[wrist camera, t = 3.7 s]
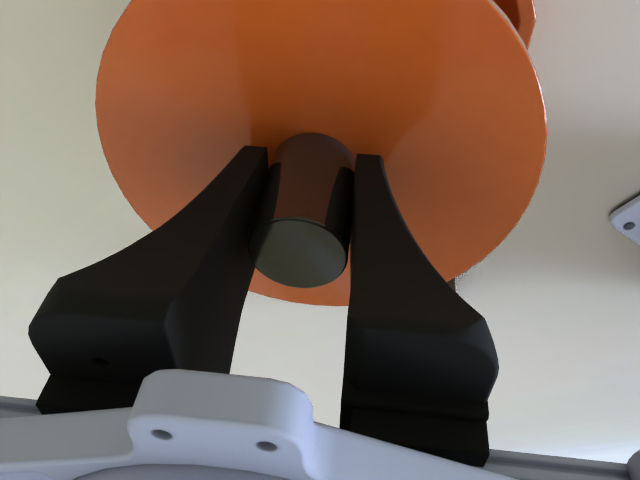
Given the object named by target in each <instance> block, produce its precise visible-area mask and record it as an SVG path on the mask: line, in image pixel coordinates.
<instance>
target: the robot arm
mask: <svg viewBox="0 0 640 480" xmlns="http://www.w3.org/2000/svg"><path fill="white" fill-rule="evenodd" d="M268 170H269V166H268V152H267V147H261V146H247V145H245V146H244V147H242V148H241V149H240V150H239V152H238V153H237V154H236V155H235V156H234V157H233V158H232V160H231V161H230V162H229V163H228V164H227V165H226V166H225V167H224V169H223V170H222V171H221V172H220V173H219V174H218V175H217V176H216V177H215V178H214V179H213V180H212V181H211V182H210V183H209V184H208V185H207V186H206V187H205V188H204V189H203V190H202V191H201V192H200V193H199V194H198V195H197V196H196V197H195V198H194V199H193V200H192V201H191V202H189V203H188V204H187V205H186V206H185V207H184V208H183V209H182V210H180V211H179V212H178V213H177V214H176V215H174V216H173V217H172V218H171V219H169V220H168V221H167V222H165V223H164V224H163V225H161V226H160V227H158V228H157V229H156V230H154V231H152V232H151V233H149V234H148V235H146V236H144V237H143V238H141V239H140V240H138V241H136V242H135V243H133V244H132V245H130V246H128V247H126V248H125V249H123V250H121V251H119V252H117V253H115V254H113V255H111V256H109V257H107V258H105V259H103V260H101V261H99V262H97V263H95V264H92V265H90V266H88V267H85V268H83V269H80V270H78V271H76V272H73V273H71V274H68V275H66V276H63V277H60V278H58V280H57V281H56V283H55V284H54V285H53V287H52V288H51V290H50V291H49V292H48V294H47V296H46V298H45V299H44V301H43V303H42V304H41V306H40V308H39V309H38V311H37V313H36V315H35V316H34V318H33V320H32V322H31V323H30V325H29V332H28V335H29V337H30V340H31V342H32V344H33V346H34V348H35V350H36V351H37V353H38V355H39V356H40V358H41V359H42V361H43V363H44V364H45V366H46V368H47V369H48V371H49V373H50V374H51V375H50V377H49V379H48V381H47V383H46V384H45V386H44V388H43V390H42V392H41V394H40V396H39V398H38V400H33V399H24V398H15V397H6V396H0V480H640V450H639V451H637V452H636V453H634V454H633V455H632V457H631V458H630V459H629V461H628V462H627V464H622V463H613V462H604V461H595V460H585V459H576V458H567V457H558V456H549V455H539V454H530V453H521V452H512V451H503V450H493V449H489V442H488V433H487V423H486V421H487V420H488V418H489V410H488V401H487V400H488V398H489V395H490V393H491V391H492V388H493V386H494V383H495V381H496V379H497V376H498V370H499V365H498V358H497V353H496V349H495V346H494V342H493V339H492V336H491V333H490V331H489V328H488V326H487V323H486V321H485V318H484V317H483V316H481V315H480V314H479V313H478V312H477V311H476V310H475V309H473V308H472V307H471V306H470V305H469V304H468V303H467V302H465V301H464V300H463V299H462V298H461V297H460V296H459V295H458V294H457V293H456V292H455V291H454V290H453V289H452V288H451V287H450V285H449V284H448V283H447V282H446V281H445V279H444V278H443V277H442V276H441V275H440V274H439V272H438V271H437V270H436V269H435V268H434V266H433V265H432V264H431V262H430V261H429V260H428V258H427V257H426V255H425V254H424V253H423V251H422V250H421V248H420V247H419V245H418V243H417V242H416V240H415V239H414V237H413V235H412V234H411V232H410V230H409V228H408V226H407V224H406V222H405V221H404V219H403V217H402V215H401V212H400V210H399V208H398V206H397V203H396V201H395V199H394V196H393V194H392V191H391V188H390V185H389V182H388V179H387V176H386V172H385V167H384V160H383V158H382V157H381V156H380V155H372V154H358V153H357V154H356V161H355V169H354V185H353V215H352V227H351V237H350V299H349V307H348V316H347V331H346V346H345V361H344V376H343V386H342V397H341V413H340V428H336V427H332V426H329V425H325V424H322V423H318V422H315V421H313V406H312V404H311V402H310V400H309V398H308V396H307V395H306V394H305V393H304V392H303V391H301V390H300V389H298V388H297V387H295V386H293V385H292V384H290V383H287V382H283V381H279V380H275V379H271V378H262V377H252V376H242V375H232V374H229V373H230V368H231V362H232V357H233V352H234V347H235V341H236V336H237V332H238V327H239V322H240V317H241V312H242V309H243V305H244V301H245V298H246V295H247V292H248V289H249V286H250V283H251V280H252V277H253V274H254V270H255V266H254V265H253V263H252V261H251V260H250V257H249V254H248V240H249V237H250V233H251V230H252V226H253V223H254V219H255V216H256V212H257V209H258V205H259V202H260V198H261V195H262V191H263V188H264V184H265V181H266V177H267V174H268ZM610 222H611V224H612V226H613V227H615V228H616V229H617V230H619V231H620V232H621V233H623V234H624V235H625V236H627V237H628V238H629V239H631V240H632V241H633V242H635V243H636V244H637V245H639V246H640V195H639V196H638V197H636V198H634V199H633V200H631V201H630V202H628V203H627V204H625V205H623V206H622V207H620V208H619V209H617V210H615V211H614V212H613V213H612V214H611V215H610ZM628 222H631V223H630V224H626V223H628ZM624 224H626V225H624Z"/></svg>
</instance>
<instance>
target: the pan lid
mask: <svg viewBox="0 0 640 480" xmlns="http://www.w3.org/2000/svg"><path fill="white" fill-rule="evenodd" d="M95 106H96V116H97V127H98V132H99V136H100V140H101V144H102V148H103V152H104V155H105V157H106V160H107V162H108V165H109V167H110V170H111V172H112V175H113V177H114V178H115V180H116V182H117V184H118V186H119V187H120V189H121V191H122V193H123V195H124V196H125V198H126V199H127V200H128V202H129V203H130V204H131V206H132V207H133V209H134V210H135V211H136V213H137V214H138V215H139V216H140V218H141V219H142V220H143V221H144V222H145V223H146V224H147V225H148V226H149V228H150V229H151V230H152V231H154V230H156V229H157V228H158V227H160V226H161V225H163V224H164V223H165V222H167V221H168V220H169V219H171V218H172V217H173V216H174V215H176V214H177V213H178V212H179V211H180V210H182V209H183V208H184V207H185V206H186V205H187V204H188V203H189V202H191V201H192V200H193V199H194V198H195V197H196V196H197V195H198V194H199V193H200V192H201V191H202V190H203V189H204V188H205V187H206V186H207V185H208V184H209V183H210V182H211V181H212V180H213V179H214V178H215V177H216V176H217V175H218V174H219V173H220V172H221V171H222V170H223V169H224V167H225V166H226V165H227V164H228V163H229V162H230V161H231V160H232V158H233V157H234V156H235V155H236V154H237V153H238V152H239V150H240V149H241V148H242V147H244V146H245V145H247V146H261V147H267V152H268V166H269V170H268V174H267V177H266V181H265V184H264V188H263V191H262V195H261V198H260V202H259V205H258V209H257V212H256V216H255V219H254V223H253V226H252V230H251V233H250V237H249V240H248V254H249V257H250V260H251V261H252V263H253V265H254V266H255V270H254V274H253V277H252V280H251V283H250V286H249V289H248V291H251V292H255V293H258V294H261V295H264V296H268V297H271V298H276V299H280V300H285V301H290V302H295V303H303V304H310V305H324V306H349V299H350V237H351V227H352V215H353V185H354V169H355V161H356V154H357V153H358V154H372V155H380V156H381V157H382V158H383V160H384V167H385V172H386V176H387V179H388V182H389V185H390V188H391V191H392V194H393V196H394V199H395V201H396V203H397V206H398V208H399V210H400V212H401V215H402V217H403V219H404V221H405V222H406V224H407V226H408V228H409V230H410V232H411V234H412V235H413V237H414V239H415V240H416V242H417V243H418V245H419V247H420V248H421V250H422V251H423V253H424V254H425V255H426V257H427V258H428V260H429V261H430V262H431V264H432V265H433V266H434V268H435V269H436V270H437V271H438V272H439V274H440V275H441V276H442V277H443V278H444V279H445V281H446V282H448V281H449V280H451V279H453V278H455V277H457V276H459V275H460V274H462V273H464V272H466V271H467V270H468V269H470V268H471V267H473V266H474V265H476V264H477V263H478V262H480V261H481V260H483V259H484V258H485V257H486V256H487V255H488V254H489V253H491V252H492V251H493V250H494V249H495V248H496V247H497V246H498V245H499V244H500V243H501V242H502V241H503V240H504V239H505V238H506V236H507V235H508V234H509V233H510V232H511V231H512V229H513V228H514V227H515V226H516V224H517V223H518V221H519V220H520V218H521V216H522V215H523V213H524V212H525V210H526V209H527V207H528V205H529V203H530V201H531V198H532V196H533V194H534V192H535V189H536V187H537V185H538V182H539V178H540V175H541V171H542V167H543V164H544V160H545V150H546V140H547V124H546V109H545V103H544V99H543V95H542V91H541V87H540V82H539V78H538V75H537V72H536V70H535V67H534V65H533V63H532V60H531V58H530V55H529V53H528V51H527V48H526V46H525V44H524V42H523V40H522V39H521V37H520V36H519V34H518V32H517V31H516V29H515V28H514V26H513V25H512V23H511V21H510V20H509V18H508V17H507V15H506V14H505V13H504V12H503V11H502V10H501V9H500V7H499V6H498V5H497V4H496V3H495V2H494V1H493V0H132V1H131V2H130V3H129V4H128V6H127V7H126V9H125V10H124V12H123V14H122V15H121V17H120V18H119V20H118V21H117V23H116V24H115V26H114V28H113V30H112V32H111V35H110V37H109V39H108V42H107V44H106V46H105V49H104V51H103V54H102V58H101V63H100V67H99V71H98V76H97V85H96V101H95Z"/></svg>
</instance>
